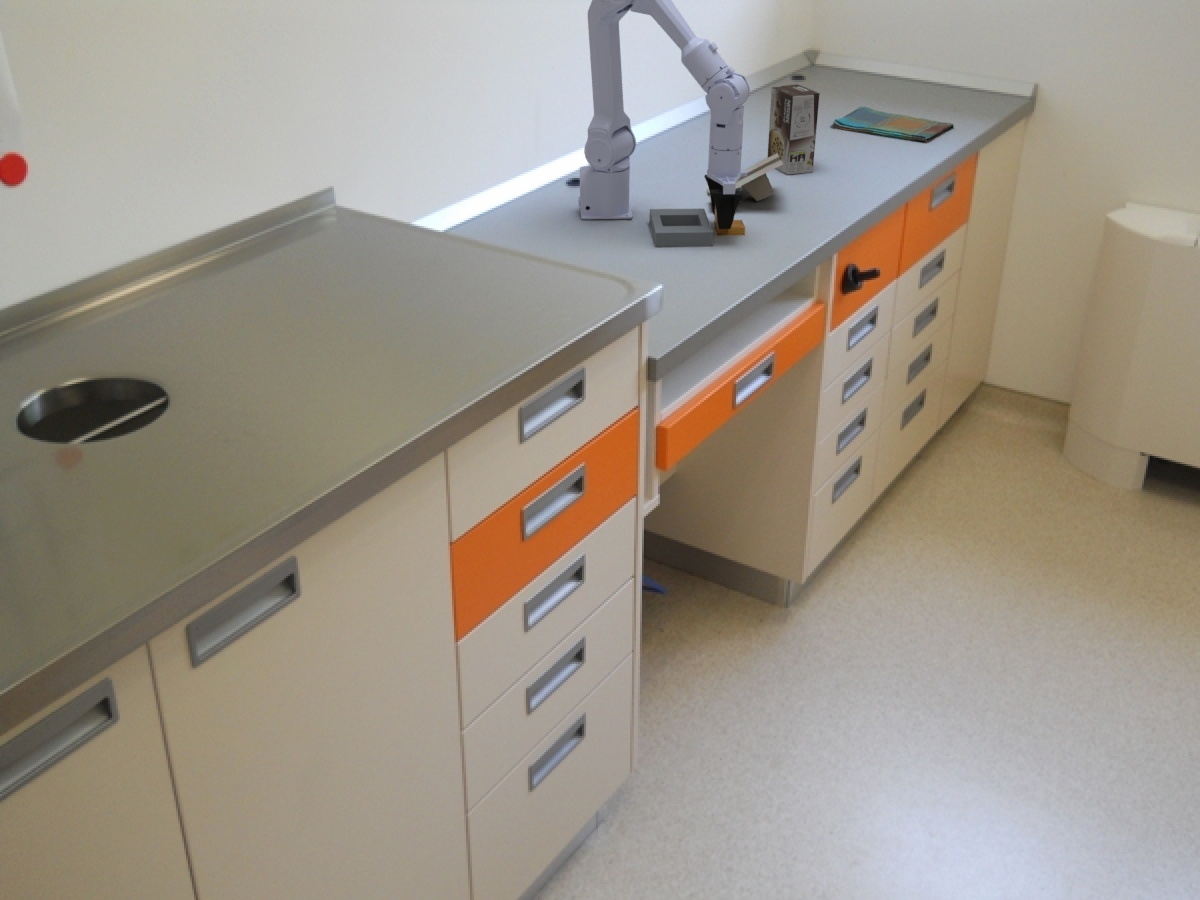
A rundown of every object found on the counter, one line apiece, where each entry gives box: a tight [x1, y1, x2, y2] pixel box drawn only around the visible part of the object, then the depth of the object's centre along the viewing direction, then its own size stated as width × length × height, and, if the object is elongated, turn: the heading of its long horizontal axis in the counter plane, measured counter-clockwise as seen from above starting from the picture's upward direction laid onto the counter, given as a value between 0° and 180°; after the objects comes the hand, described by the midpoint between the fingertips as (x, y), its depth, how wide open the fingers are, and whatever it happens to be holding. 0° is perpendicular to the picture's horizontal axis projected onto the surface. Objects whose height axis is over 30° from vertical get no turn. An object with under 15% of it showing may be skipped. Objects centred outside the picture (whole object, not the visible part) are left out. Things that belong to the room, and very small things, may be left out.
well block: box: [648, 208, 714, 248], centre depth 228 cm, size 10×13×2 cm
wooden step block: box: [713, 206, 746, 236], centre depth 228 cm, size 5×4×6 cm
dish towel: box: [829, 106, 955, 145], centre depth 293 cm, size 17×23×2 cm
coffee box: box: [767, 83, 821, 176], centre depth 261 cm, size 9×6×16 cm
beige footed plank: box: [706, 153, 783, 202], centre depth 244 cm, size 16×9×15 cm
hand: (721, 221), depth 229 cm, fingers open, 7 cm apart
